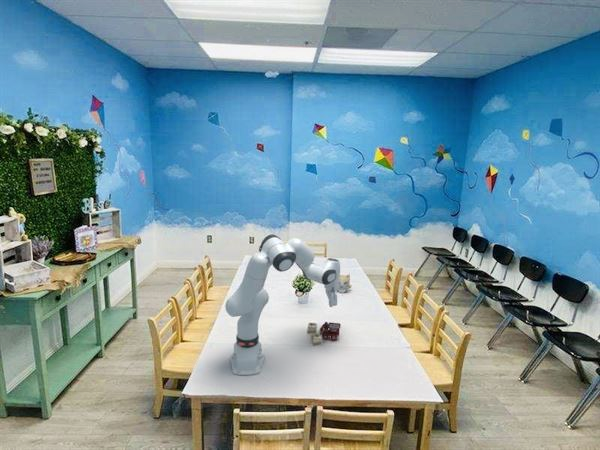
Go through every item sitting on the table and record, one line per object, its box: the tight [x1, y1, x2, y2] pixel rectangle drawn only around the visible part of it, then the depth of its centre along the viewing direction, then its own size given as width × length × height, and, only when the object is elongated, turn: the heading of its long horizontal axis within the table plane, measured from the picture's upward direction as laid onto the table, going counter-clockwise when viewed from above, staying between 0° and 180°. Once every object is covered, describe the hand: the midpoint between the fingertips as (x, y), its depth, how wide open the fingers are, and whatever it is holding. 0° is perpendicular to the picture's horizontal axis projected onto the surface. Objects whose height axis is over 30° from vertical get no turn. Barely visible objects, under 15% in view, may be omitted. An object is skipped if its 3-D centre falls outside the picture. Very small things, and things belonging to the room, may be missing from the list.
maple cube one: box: [310, 332, 323, 347], centre depth 225 cm, size 5×5×5 cm
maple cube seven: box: [307, 322, 318, 335], centre depth 238 cm, size 5×5×5 cm
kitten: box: [337, 274, 353, 294], centre depth 299 cm, size 15×10×15 cm, turn 76°
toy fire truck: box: [319, 321, 341, 342], centre depth 231 cm, size 7×12×10 cm, turn 80°
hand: (330, 306), depth 229 cm, fingers closed
